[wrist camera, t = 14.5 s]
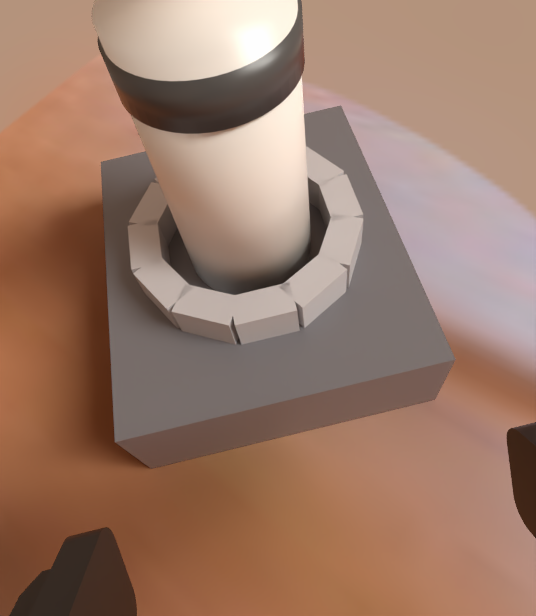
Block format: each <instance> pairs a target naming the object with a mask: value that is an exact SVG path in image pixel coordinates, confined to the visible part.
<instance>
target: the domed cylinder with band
mask: <svg viewBox="0 0 536 616" xmlns="http://www.w3.org/2000/svg"><path fill="white" fill-rule="evenodd" d="M92 21H93V25H94V27H95V30H96V32H97V34H98V46H99V50H100V52H101V55H102V57H103V59H104V62H105V64H106V66H107V69H108V71H109V74H110V76H111V78H112V81H113V83H114V85H115V88H116V90H117V92H118V95H119V97H120V100H121V102H122V104H123V106H124V107H125V109H126V110H127V111H128V112H129V113H130V114H131V117H132V119H133V121H134V124H135V126H136V129H137V131H138V133H139V136H140V138H141V141H142V143H143V146H144V148H145V150H146V153H147V155H148V158H149V160H150V162H151V165H152V167H153V170H154V172H155V175H156V177H157V179H158V182H159V184H160V187H161V189H162V191H163V194H164V196H165V199H166V201H167V203H168V206H169V208H170V211H171V213H172V216H173V218H174V220H175V223H176V225H177V228H178V230H179V232H180V235H181V237H182V240H183V242H184V245H185V247H186V249H187V252H188V254H189V257H190V259H191V261H192V264H193V266H194V269H195V271H196V273H197V274H198V276H199V277H200V278H201V280H202V281H203V282H204V283H206V284H207V285H208V286H209V287H211V288H212V289H214V290H216V291H219V292H223V293H227V294H232V295H238V294H242V293H246V292H250V291H254V290H258V289H263V288H267V287H271V286H275V285H279V284H283V283H285V282H286V281H287V280H288V279H289V278H291V277H292V276H293V275H294V274H295V273H297V272H298V271H299V270H300V269H302V268H303V267H304V266H305V265H306V263H307V261H308V258H309V255H310V252H311V229H310V212H309V194H308V177H307V159H306V142H305V124H304V107H303V90H302V73H303V70H304V63H305V59H304V39H303V19H302V3H301V0H95V1H94V5H93V8H92Z"/></svg>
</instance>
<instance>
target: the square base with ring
mask: <svg viewBox="0 0 536 616" xmlns="http://www.w3.org/2000/svg"><path fill="white" fill-rule="evenodd" d="M304 124H305V142H306V159H307V177H308V194H309V212H310V229H311V252H310V255H309V258H308V261H307V263H306V265H305V266H304V267H303V268H302V269H300V270H299V271H298V272H297V273H295V274H294V275H293V276H292V277H291V278H289V279H288V280H287V281H286V282H285V283H283V284H279V285H275V286H271V287H267V288H263V289H258V290H254V291H250V292H246V293H242V294H238V295H232V294H227V293H223V292H219V291H216V290H214V289H212V288H211V287H209V286H208V285H207V284H206V283H204V282H203V281H202V280H201V278H200V277H199V276H198V274H197V273H196V271H195V269H194V266H193V264H192V261H191V259H190V257H189V254H188V252H187V249H186V247H185V245H184V242H183V240H182V237H181V235H180V232H179V230H178V228H177V225H176V223H175V220H174V218H173V216H172V213H171V211H170V208H169V206H168V203H167V201H166V199H165V196H164V194H163V191H162V189H161V187H160V184H159V182H158V179H157V177H156V175H155V172H154V170H153V167H152V165H151V162H150V160H149V158H148V155H147V153H146V152H141V153H137V154H133V155H129V156H124V157H120V158H116V159H112V160H107V161H103V162H101V176H102V196H103V216H104V236H105V256H106V276H107V296H108V316H109V336H110V356H111V376H112V396H113V417H114V437H115V443H117V444H118V445H119V446H121V447H122V448H123V449H125V450H126V451H128V452H129V453H130V454H132V455H133V456H134V457H136V458H137V459H139V460H140V461H141V462H143V463H144V464H145V465H147V466H148V467H150V468H151V469H152V468H156V467H160V466H165V465H169V464H173V463H177V462H181V461H185V460H189V459H193V458H197V457H201V456H206V455H210V454H214V453H218V452H222V451H226V450H230V449H234V448H238V447H243V446H247V445H251V444H255V443H259V442H263V441H267V440H271V439H275V438H280V437H284V436H288V435H292V434H296V433H300V432H304V431H308V430H312V429H316V428H321V427H325V426H329V425H333V424H337V423H341V422H345V421H349V420H353V419H358V418H362V417H366V416H370V415H374V414H378V413H382V412H386V411H390V410H395V409H399V408H403V407H407V406H411V405H415V404H419V403H423V402H427V401H432V400H435V398H436V397H437V395H438V393H439V391H440V389H441V387H442V385H443V383H444V381H445V379H446V377H447V375H448V373H449V371H450V369H451V367H452V365H453V364H454V362H455V360H456V359H455V357H454V355H453V353H452V351H451V348H450V346H449V344H448V342H447V340H446V337H445V335H444V333H443V331H442V328H441V326H440V324H439V322H438V320H437V317H436V315H435V313H434V311H433V309H432V306H431V304H430V302H429V300H428V297H427V295H426V293H425V291H424V289H423V286H422V284H421V282H420V280H419V278H418V275H417V273H416V271H415V269H414V266H413V264H412V262H411V260H410V258H409V255H408V253H407V251H406V249H405V247H404V244H403V242H402V240H401V238H400V235H399V233H398V231H397V229H396V227H395V224H394V222H393V220H392V218H391V216H390V213H389V211H388V209H387V207H386V204H385V202H384V200H383V198H382V196H381V193H380V191H379V189H378V187H377V185H376V182H375V180H374V178H373V176H372V173H371V171H370V169H369V167H368V165H367V162H366V160H365V158H364V156H363V154H362V151H361V149H360V147H359V145H358V142H357V140H356V138H355V136H354V134H353V131H352V129H351V127H350V125H349V123H348V120H347V118H346V116H345V114H344V111H343V109H342V107H341V106H337V107H333V108H328V109H324V110H320V111H316V112H311V113H307V114H304Z"/></svg>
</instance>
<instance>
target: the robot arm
mask: <svg viewBox="0 0 536 616" xmlns="http://www.w3.org/2000/svg"><path fill="white" fill-rule="evenodd" d="M507 446H508V454H509V462H510V470H511V478H512V486H513V494H514V500H515V503H516V507H517V509H518V512H519V514H520V516H521V518H522V520H523V522H524V524H525V525H526V527H527V528H528V530H529V531H530V532H531V533H532V534H533V536H534V537H535V538H536V422H535V423H531V424H527V425H523V426H519V427H515V428H511V429H509V430H508V432H507ZM10 616H137V608H136V599H135V594H134V590H133V587H132V584H131V582H130V579H129V576H128V573H127V570H126V568H125V565H124V562H123V559H122V557H121V554H120V551H119V548H118V546H117V543H116V540H115V537H114V535H113V533H112V531H111V530H110V529H109V528H107V527H106V528H101V529H97V530H93V531H89V532H85V533H81V534H77V535H73V536H69V537H67V538H66V539H65V541H64V543H63V545H62V547H61V549H60V551H59V553H58V555H57V557H56V560H55V562H54V564H53V566H52V568H51V569H50V570H46V571H42V572H41V573H40V574H39V575H38V576H37V577H36V579H35V580H34V581H33V582H32V583H31V584H30V585H29V586H28V587H27V589H26V590H25V591H24V592H23V593H22V594H21V595H20V596H19V598H18V600H17V602H16V604H15V606H14V608H13V610H12V612H11V614H10Z"/></svg>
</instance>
